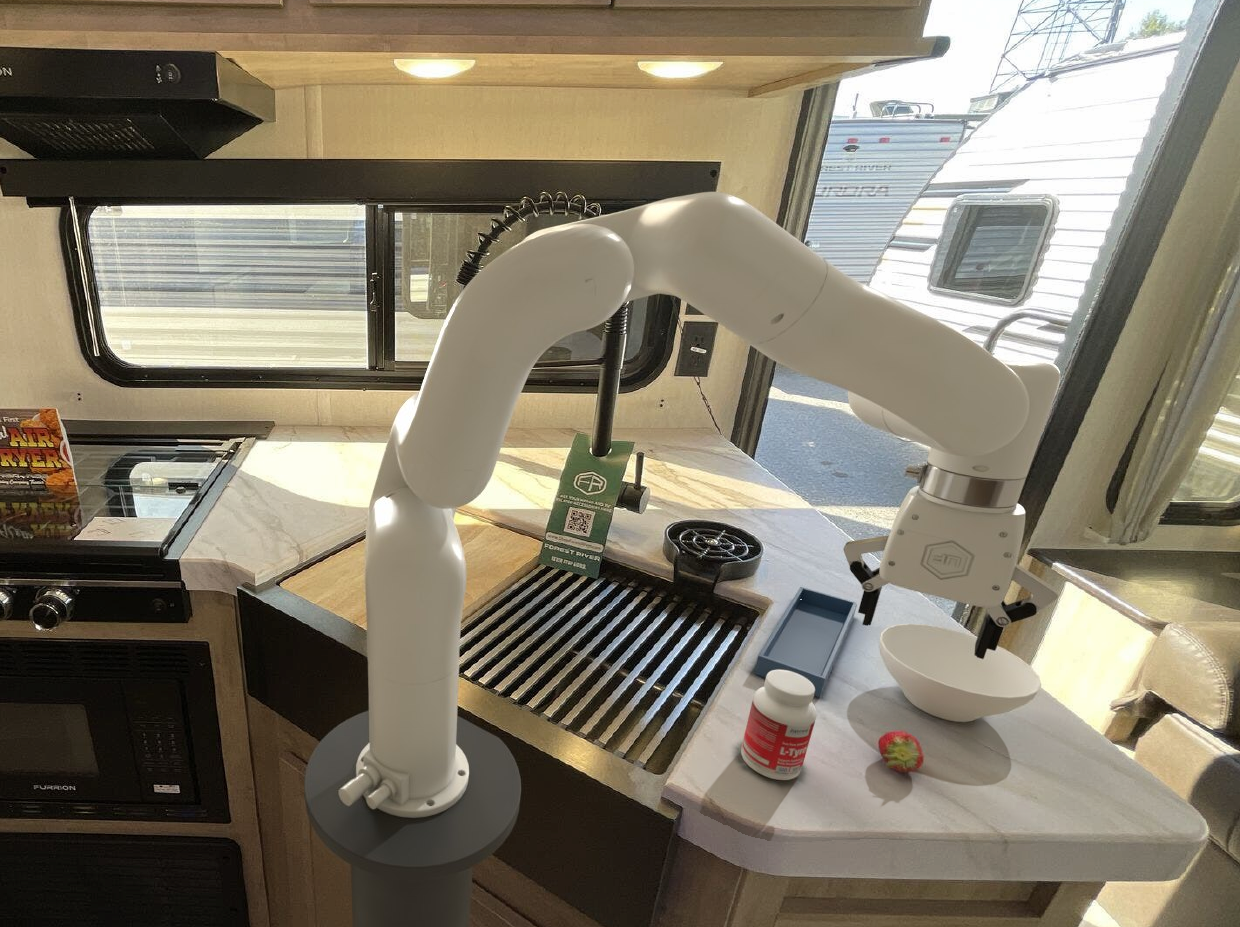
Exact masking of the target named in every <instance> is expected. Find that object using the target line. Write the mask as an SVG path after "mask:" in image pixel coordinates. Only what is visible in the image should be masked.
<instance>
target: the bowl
mask: <svg viewBox="0 0 1240 927" xmlns="http://www.w3.org/2000/svg"><path fill="white" fill-rule="evenodd" d="M977 638H978V636H975V635H972V634H969V633H967V632H963V631H958V630H955V629H951V628H947V627H942V626H936V625H930V624H922V623H921V624H919V623H902V624H901V623H900V624H894V625H891V626H888V627H886V628H885V629H883V631H882V632H880V637H879V644H878V649H879V655H880V657H881V659H882V661H883V663H884V665H885V667H886V669H887V671H888V672H889V675H891V677H892V678H893V679H894V680H895V682H896V683H897V685H898V686H899V687H900V689H901V690H902V692H903V694H904V696H905V698H906V699H907V700H908V701H909V702H910V703H911V704H912V705H913V706H915V707H916V708H917V709H919V710H921V711H923V712H924V713H927V714H929V715H931V716H933V717H936V718H939V719H942V720H946V721H950V722H957V723H967V722H973V721H975V720H977V719H981V718H985V717H991V716H997V715H1001V714H1005V713H1009V712H1012V711H1013V710H1016V709H1019V708H1020V707H1023V706H1025V705H1027V704H1028V703H1030V702H1031V701H1032V700H1033V699H1035V697H1036V695H1038V693H1039V690H1040V689H1041V687H1042V682H1041V679H1040V675H1039V674H1038V673H1037V672H1036V671H1035V670H1034V668H1033V667H1032V666H1031V665H1030V664H1028V663H1027V662H1026V661H1024V660H1023V659H1022V658H1020V657H1019V656H1017V655H1016V654H1014V653H1012V652H1010V651H1009V650H1007V649H1005V648H1003V647H1001V646H998V645H997V648H996V650H995V651H993V650H990V649H987V651H986V653H985V656H984V659H981V658H977V656H975V655H974V654H975V643H976V640H977Z"/></svg>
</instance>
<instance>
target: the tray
mask: <svg viewBox="0 0 1240 927" xmlns="http://www.w3.org/2000/svg"><path fill="white" fill-rule="evenodd" d="M800 599H802V600H800ZM857 607H858V602H857V601H853V600H850V599H846V598H842V597H839V596H835V595H832V594H829V593H824V592H821V591H819V590H818V591H817V590H814V589H811V588H806V587H804V586H800V587H799V588H798V590H797V592H796V593H795V595H794V597H793V598H792V599H791V602H790V603H789V605H788V606H787V607H786V610H785V611H784V613H783V614H782V616H781V618H780V619H779V621H778V622H777V624H776V626H775V627H774V629H773V631H772V632H771V634H770V635H769V637H768V639H767V640H766V642H765V644H764V646H763V647H762V649H761V650H760V652H759V653H758V655H757V658H756V659H757V660H756V663H755V667H754V671H753V674H754V675H756V676H759V677H762V678H765V679H766V676H767V674H768V673H769V672H770V671H772V670H787V671H791V672H795V673H797V674H800V675H802V676H803V677H805V678H807V679H808V680H809V681H810V682H811V683H812V684H813V685H814V687H815V692H814V696H813V697H817V698H819V699H820V698H821V696H822V694H823V691H824V689H825V687H826V684H827V682H828V680H829V677H830V674H831V672H832V670H833V667H834V665H835V663H836V661H837V658H838V656H839V653H840V651H841V649H842V647H843V644H844V642H845V639H846V637H847V634H848V632H849V630H850V627H851V625H852V622H853V621H854V617H855V613H856V610H857Z"/></svg>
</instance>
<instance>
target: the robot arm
mask: <svg viewBox="0 0 1240 927" xmlns="http://www.w3.org/2000/svg"><path fill="white" fill-rule="evenodd" d="M659 294H661V295H666V296H668V295H669V296H674V297H676V298H678V299H680V300H681V301H683V302H685V303H687V304H689V305H690V306H691V307H692V308H695V309H696V310H697V311H699V312H700V313H702V314H703V315H705V316H706V317H708V319H711V320H712V321H715V323H717V324H719V325H720V326H722V327H724V329H726V330H728V331H729V332H731V333H732V334H734V335H735V336H737V338H740V339H742V340H743V341H744V342H745V343H746V344H748V345H749V346H751V347H753V348H754V349H755V350H757V351H758V352H760V353H761V354H763V355H764V356H765V357H766V358H769V359H770V360H772V361H774V362H775V363H778V364H780V365H781V366H783V367H786V368H788V369H790V370H792V371H794V372H797V373H799V374H801V375H804V376H807V377H808V378H812V379H815V380H818V381H821V382H824V383H826V384H829V385H832V386H835V387H838V388H840V389H843V390H845V391H847V401H848V405H849V407H850V409H851V411H852V413H853V414H854V415H855V416H856V417H857V418H858V419H859V420H861V421H862V422H864V423H865V424H867V425H868V426H870V427H873V428H875V429H876V430H877V429H878V430H879V431H882V432H885V433H887V434H891V435H894V436H896V437H900V438H903V439H907V440H910V441H912V442H915V443H917V444H921V445H924V446H926V447H928V448H930V450H929V453H928V456H927V460H926V462H925V461H923V462H922V464H918V463H917V464H910V463H909V464H908V463H907V466H906V469H905V472H904V478H910V479H912V480H913V481H916V484H919V485H916V486H913V487H911V489H909V491H908V492H907V493H906V495H905V497H904V499H903V500H902V502H901V505H900V506H899V508H898V511H897V513H896V515H895V518H894V521H893V523H892V526H891V529H890V532H889V535H882V536H876V537H870V538H869V537H868V538H863V539H857V540H851V541H850V540H849V541H847V542H846V543H845V544H844V546H843V552H844V555H845V557H846V562H847V563H848V566H849V570H850V572H851V573H852V574H853V576H854V577H855V579H857V581H858V582H859V583H860V585H861V588H862V590H863V593H862V596H861V599H860V604H859V607H858V611H857V613H859V614H862V615H864V616H863V621H862V625H863V626H867V627H868V626H871V625H872V622H873V619H874V617H875V613H876V610H877V606H878V602H879V599H880V595H881V592H882V589H883V587H884V586H886V585H888V584H890V585H892V586H895V587H899V588H903V589H906V590H910V591H914V592H918V593H921V594H926V595H929V596H933V597H936V598H941V599H945V600H949V601H954V602H958V603H961V604H965V605H970V606H974V607H980V608H984V609H985V610H986V612H987V613H985V616H984V618H983V621H982V623H981V627H980V629H979V632H978V635H977V637H978V638H977V640H976V643H975V654H974V655H975V656H977V658H981V659H984V656H985V653H986V651H987V649H990V650H993V651H995V650H996V648H997V646H998V645H999V642H1000V639H1001V637H1002V634H1003V631H1004V629H1005V628H1007V627H1009V626H1010V625H1011V624H1012V623H1016V622H1019V621H1022V620H1025V619H1028V618H1031V617H1034V616H1036V615H1037V613H1038V612H1040V611H1041V610H1043V609H1045V608H1047V607H1048V606H1049V605H1051V604H1052V603H1053V602H1055V601H1057V600H1058V597H1059V595H1058V590H1057V589H1056V587H1054V586H1053V585H1051V584H1049V583H1048V582H1046V581H1045V580H1043V579H1041V578H1039V577H1038V576H1037V575H1036V574H1034V573H1032V572H1030V570H1028V569H1027V568H1025V567H1023V566H1021V565H1020V564H1018V563H1017V562H1018V557H1019V555H1020V550H1021V547H1022V542H1023V537H1024V533H1025V525H1026V510H1025V508H1024V506H1022V505H1021V504H1019V500H1020V497H1021V494H1022V492H1023V488H1024V486H1025V483H1026V480H1027V476H1028V474H1029V471H1030V468H1031V466H1032V463H1033V459H1034V457H1035V454H1036V451H1037V448H1038V446H1039V443H1040V440H1041V437H1042V434H1043V432H1044V429H1045V425H1046V423H1047V420H1048V417H1049V416H1050V415H1049V414H1050V411H1051V409H1052V407H1053V403H1054V401H1055V398H1056V395H1057V392H1058V389H1059V385H1060V382H1061V371H1060V370H1059V368H1058V367H1057V366H1056V365H1055V364H1054V363H1052V362H1049V361H1047V360H1042V359H1037V358H1031V357H1024V356H1015V355H1001V354H1000V355H999V354H998V355H997V354H992V353H991V352H989V350H987V349H985V347H983V346H981V345H980V344H978V342H976V341H974V340H973V339H971V338H970V337H968V336H967V335H965V334H963V333H962V332H960V331H958V330H956V329H954V328H953V327H951V326H949V325H948V324H945V323H944V322H941V321H939V320H937V319H936V318H933V317H931V316H929V315H927V314H925V313H923V312H921V311H918V310H917V309H914V308H913V307H910V306H909V305H906V304H904V303H902V302H900V301H899V300H896V299H895V298H893V297H891V296H889V295H887V294H886V293H884V292H882V291H879V290H878V289H875V288H873V287H871V286H869V285H867V284H864V283H862V282H860V281H857V280H856V279H854V278H852V277H850V276H849V275H848V274H846V273H844V272H843V271H841V269H839V268H837V267H836V266H835V265H834V264H832V263H831V262H829V261H828V260H826V258H823V257H822V256H821V255H819V254H818V253H817V252H815V250H813V249H812V248H810V247H808V246H807V245H806V244H805V243H803V242H802V241H800V239H798V238H796V237H795V236H794V235H793V234H791V233H790V232H788V231H787V230H785V229H784V228H783V227H781V225H779V224H777V222H775V221H774V220H772V219H771V218H769V217H768V216H767V215H765V214H764V213H763V212H761V211H760V210H758V209H757V208H756V207H755V206H753V205H751V204H750V203H748V202H747V201H746V200H744V199H742V198H740V197H738V196H736V195H733V194H730V193H727V192H722V191H704V192H703V191H702V192H697V193H692V194H691V193H690V194H686V195H680V196H674V197H668V198H665V199H660V200H657V201H653V202H650V203H646V204H643V205H639V206H635V207H631V208H629V209H625V210H620V211H618V212H612V213H609V214H603V215H599V216H595V217H590V218H587V219H582V220H578V221H573V222H569V223H565V224H560V225H555V226H551V227H546V228H543V229H539V230H537V231H534V232H533V233H531V234H529V235H527V236H526V237H524V239H523V240H521V241H520V242H519V243H518V244H515V245H514V246H512V247H510V248H508V249H507V250H506V251H504V252H503V253H501V254H500V255H499V256H497V257H495V258H494V259H493V260H492V261H490V262H489V263H487V265H485V266H484V267H483V268H482V269H481V270H479V272H478V273H477V274H476V275H475V276H473V278H472V279H470V281H469V282H468V283H467V284H466V285H465V287H464V288H463V289H462V290H461V292H460V293H459V295H458V296H457V297H456V299H455V301H454V303H453V304H452V306H451V308H450V309H449V312H448V313H447V315H446V318H445V320H444V323H443V325H442V327H441V329H440V332H439V335H438V338H437V341H436V343H435V347H434V349H433V353H432V356H431V358H430V361H429V364H428V367H427V369H426V372H425V374H424V379H423V381H422V384H421V386H420V390H419V391H418V392H416V393H414V394H413V395H411V396H410V397H409V398H408V399H407V400H406V401H405V402H404V403H403V405H402V406H401V407H400V408H399V410H398V412H397V414H396V416H395V418H394V421H393V423H392V426H391V429H390V433H389V435H388V439H387V441H386V445H385V449H384V451H383V452H384V453H383V456H382V459H381V463H380V466H379V470H378V473H377V476H376V479H375V483H374V486H373V489H372V494H371V497H370V501H369V505H368V509H367V513H366V519H365V520H366V521H365V522H366V523H365V540H364V594H365V611H366V612H365V614H366V656H367V657H366V659H367V678H368V680H367V683H368V684H367V686H368V711H369V739H370V743H368V744H367V746H366V747H365V748H364V749H363V750H362V752H361V754H360V755H359V757H358V761H357V764H356V778H354V779H352V780H350V781H349V782H348V783H347V784H345V785H344V786H343V787H342V788H341V789H340V790H339V797H340V799H341V800H342V802H343V803H344V804H345V805H347V806H350V805H352V804H353V803H354V802H355V801H356V800H358V799H359V798H360V797H361V796H362V795H363V796H364V797H365V798H366V802H367V804H368V806H369V807H370V808H371V809H376V808H378V809H380V810H381V811H384V812H386V813H389V814H391V815H396V816H400V817H409V818H418V817H427V816H431V815H435V814H438V813H440V812H442V811H445V810H447V809H448V808H450V807H451V806H453V805H454V804H455V803H456V802H457V801H458V800H459V799H460V798H461V797H462V795H463V794H464V792H465V790H466V788H467V785H468V779H469V765H468V762H467V759H466V756H465V755H464V753H463V751H462V750H461V749H460V748H459V747H458V746H457V744H456V732H457V715H458V703H459V679H460V648H461V646H460V645H461V631H462V630H461V629H462V628H461V627H462V618H463V609H464V603H465V596H466V589H467V564H466V563H467V562H466V557H465V552H464V548H463V544H462V541H461V537H460V535H459V531H458V528H457V526H456V524H455V521H454V520H455V515H456V512H457V508H460V507H464V506H466V505H468V504H470V503H471V502H473V501H474V500H476V499H477V498H478V497H479V496H480V495H481V494H482V493H483V492H484V490H485V489H486V488H487V485H488V484H489V482H490V481H491V479H492V477H493V473H494V471H495V468H496V465H497V462H498V458H499V455H500V452H501V449H502V446H503V443H504V440H505V437H506V434H507V432H508V428H509V427H510V424H511V420H512V417H513V414H514V412H515V409H516V406H517V403H518V401H519V399H520V396H521V394H522V391H523V389H524V386H525V384H526V382H527V379H529V378H528V377H529V375H530V373H531V371H532V369H534V368H533V367H534V366H535V365H536V363H537V362H538V361H539V359H540V357H541V356H542V355H543V354H544V353H545V352H546V351H547V350H548V349H549V348H550V347H552V346H553V345H555V343H557V342H559V341H560V340H562V339H563V338H565V337H567V336H570V335H572V334H574V333H579V332H584V331H587V330H591V329H592V328H596V327H597V326H600V325H602V324H603V323H605V322H607V320H609V319H610V318H611V317H613V315H614V314H615V313H617V312H618V310H619V309H620V308H621V307H622V306H623V304H624V303H628V302H631V301H635V300H639V299H642V298H646V297H651V296H653V295H659ZM876 552H882V556H881V560H880V564H879V567H877V568H875V569H873V570H872V569H871V568H870V567H869V566H868V564H867V563H866V562H865V560H864V558H863V554H868V553H876ZM1011 581H1013V582H1014V583H1016V584H1017V585H1019V586H1020V587H1021V588H1023V589H1025V590H1026V591H1028V592H1029V593H1030V595H1028V597H1026V598H1023V599H1020V600H1017V601H1013V602H1011V603H1007V602H1006V601H1005V599H1006V598H1005V597H1006V595H1007V593H1008V590H1009V588H1010V584H1011Z"/></svg>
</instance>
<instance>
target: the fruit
mask: <svg viewBox="0 0 1240 927" xmlns="http://www.w3.org/2000/svg"><path fill="white" fill-rule="evenodd" d="M877 742H878V743H877V744H878V751H879V754H880V755H881V757H882V759H883V761H884V763H885V764H884V767H886V768H891V769H893V770H895V771H898V772H901V773H914V772H915V771H917V770H918V769H919V768H921V766H922V765H923V764H924V760H925V759H924V758H925V756H924V755H925V754H924V752H923V748H922V745H921V742H920V741H919V740H917V738H916V737H915V736H914V735H912V734H910V733H908V732H906V731H903V730H893V731H888V732H886V733H885V734H883V735H882V736H881V737H879V739H878V741H877Z"/></svg>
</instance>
